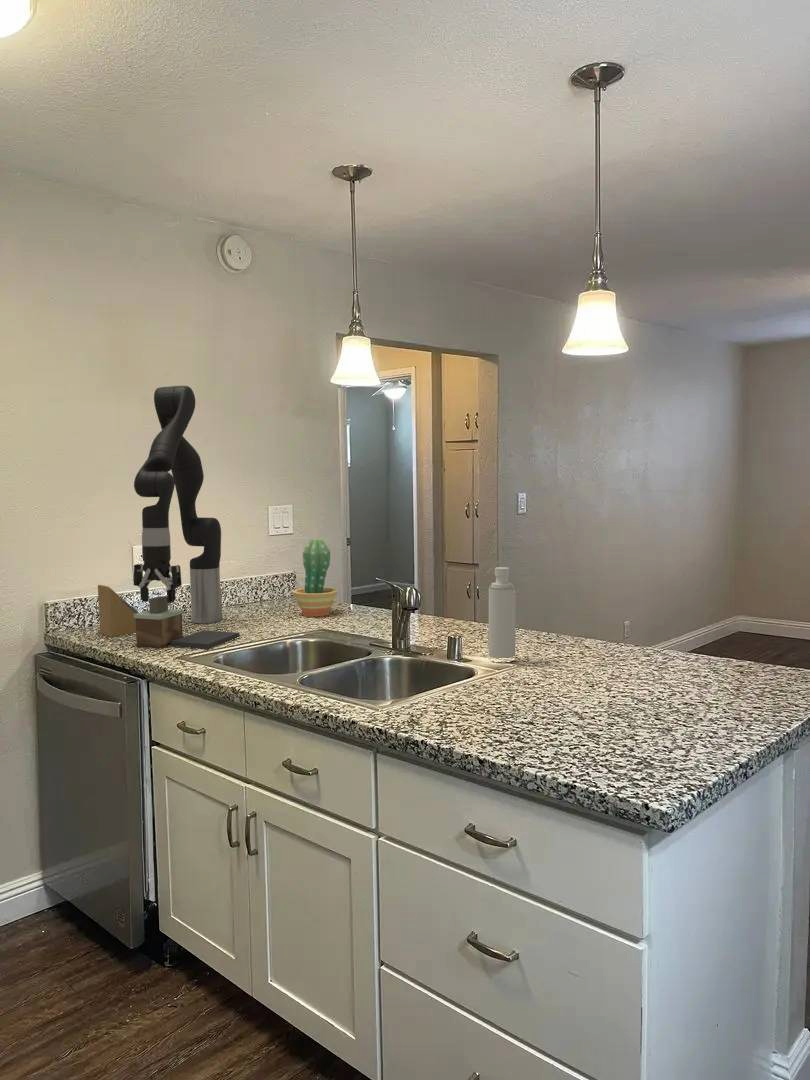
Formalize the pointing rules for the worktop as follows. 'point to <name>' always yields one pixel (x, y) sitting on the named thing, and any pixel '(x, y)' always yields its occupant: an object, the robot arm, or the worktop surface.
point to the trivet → (205, 639)
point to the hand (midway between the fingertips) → (157, 602)
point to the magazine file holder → (115, 613)
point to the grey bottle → (502, 615)
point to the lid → (158, 609)
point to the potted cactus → (315, 581)
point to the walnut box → (158, 631)
